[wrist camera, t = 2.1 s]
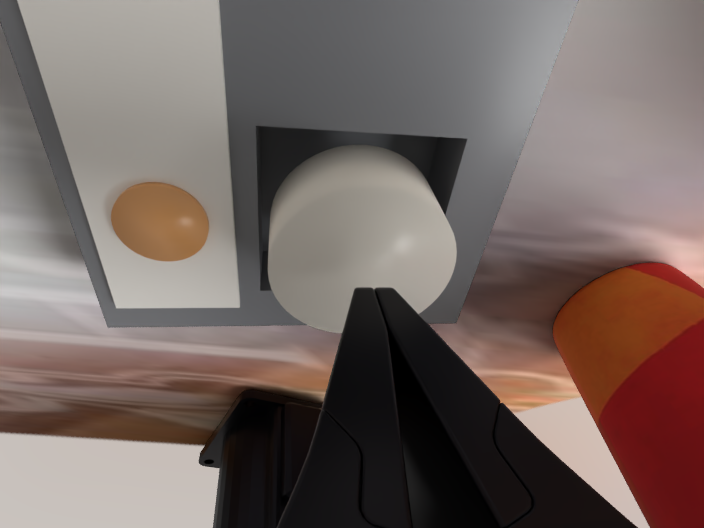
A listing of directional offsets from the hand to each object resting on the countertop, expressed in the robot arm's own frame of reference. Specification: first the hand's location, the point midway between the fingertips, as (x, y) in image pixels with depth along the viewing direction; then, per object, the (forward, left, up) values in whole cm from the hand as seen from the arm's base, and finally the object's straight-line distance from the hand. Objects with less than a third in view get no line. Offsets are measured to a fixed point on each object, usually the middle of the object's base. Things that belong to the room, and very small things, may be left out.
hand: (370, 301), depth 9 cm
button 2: (0, 0, -3) cm, 3 cm away
